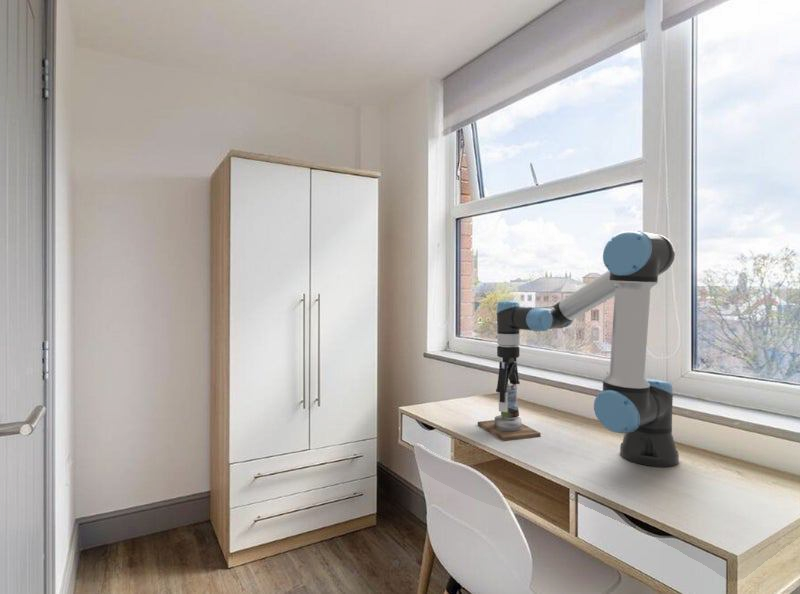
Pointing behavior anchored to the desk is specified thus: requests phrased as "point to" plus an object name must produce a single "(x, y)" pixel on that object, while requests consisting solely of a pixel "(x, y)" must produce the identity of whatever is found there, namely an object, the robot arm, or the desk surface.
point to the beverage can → (511, 403)
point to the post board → (509, 434)
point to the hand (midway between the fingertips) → (508, 407)
